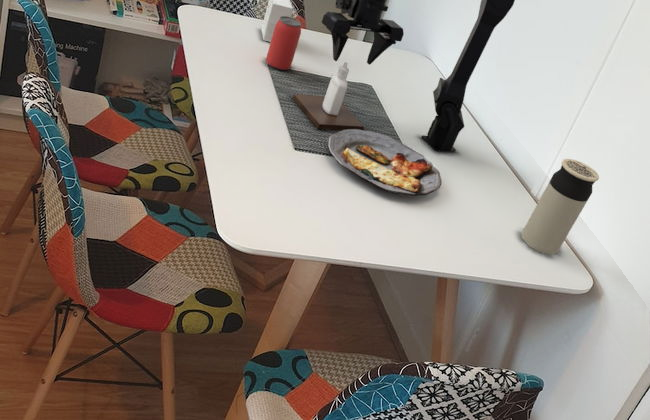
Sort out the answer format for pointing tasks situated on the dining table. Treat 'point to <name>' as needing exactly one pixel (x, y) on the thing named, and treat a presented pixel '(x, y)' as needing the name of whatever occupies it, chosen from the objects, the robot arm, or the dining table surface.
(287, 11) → the small box
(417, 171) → the food plate
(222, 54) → the dining table surface
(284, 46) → the beer can
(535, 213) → the travel mug
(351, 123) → the walnut board
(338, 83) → the eye dropper bottle
